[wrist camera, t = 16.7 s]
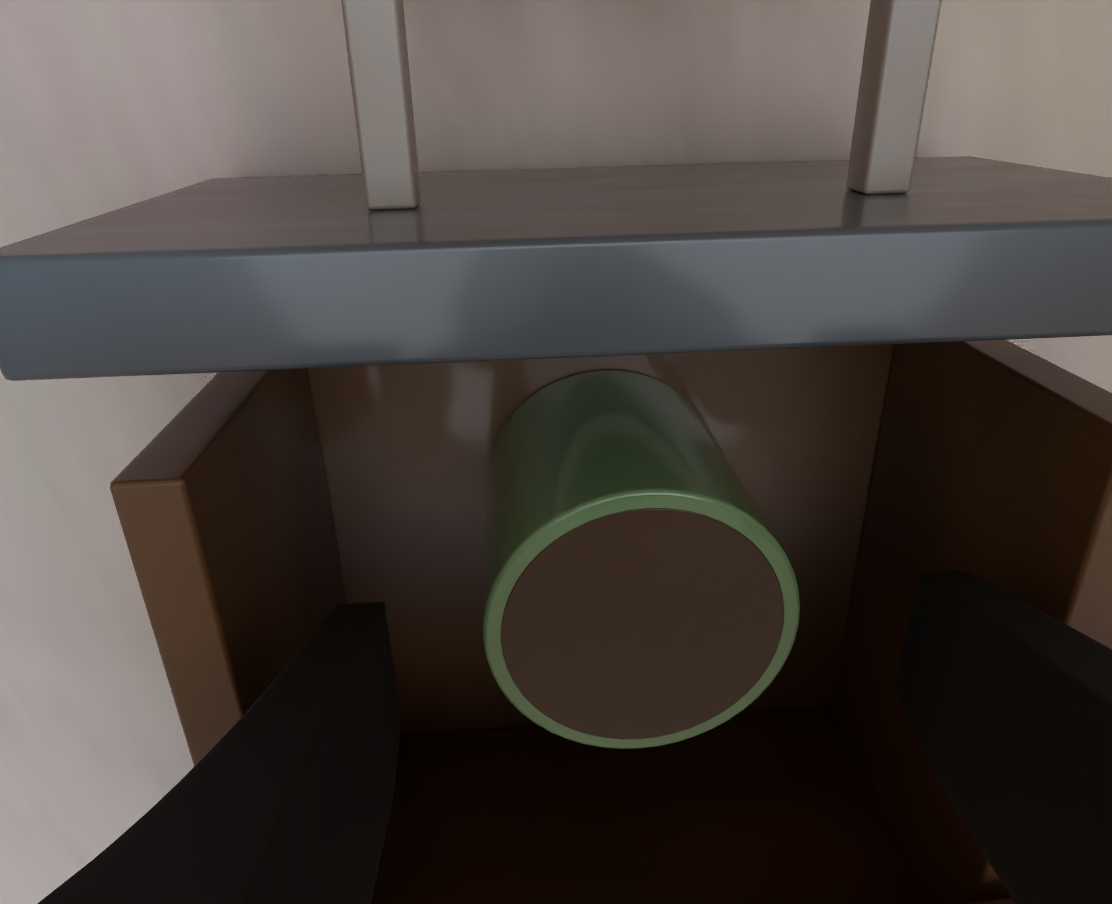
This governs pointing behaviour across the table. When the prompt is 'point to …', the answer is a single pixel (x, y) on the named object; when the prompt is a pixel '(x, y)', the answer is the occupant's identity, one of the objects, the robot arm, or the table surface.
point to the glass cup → (628, 568)
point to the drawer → (585, 346)
